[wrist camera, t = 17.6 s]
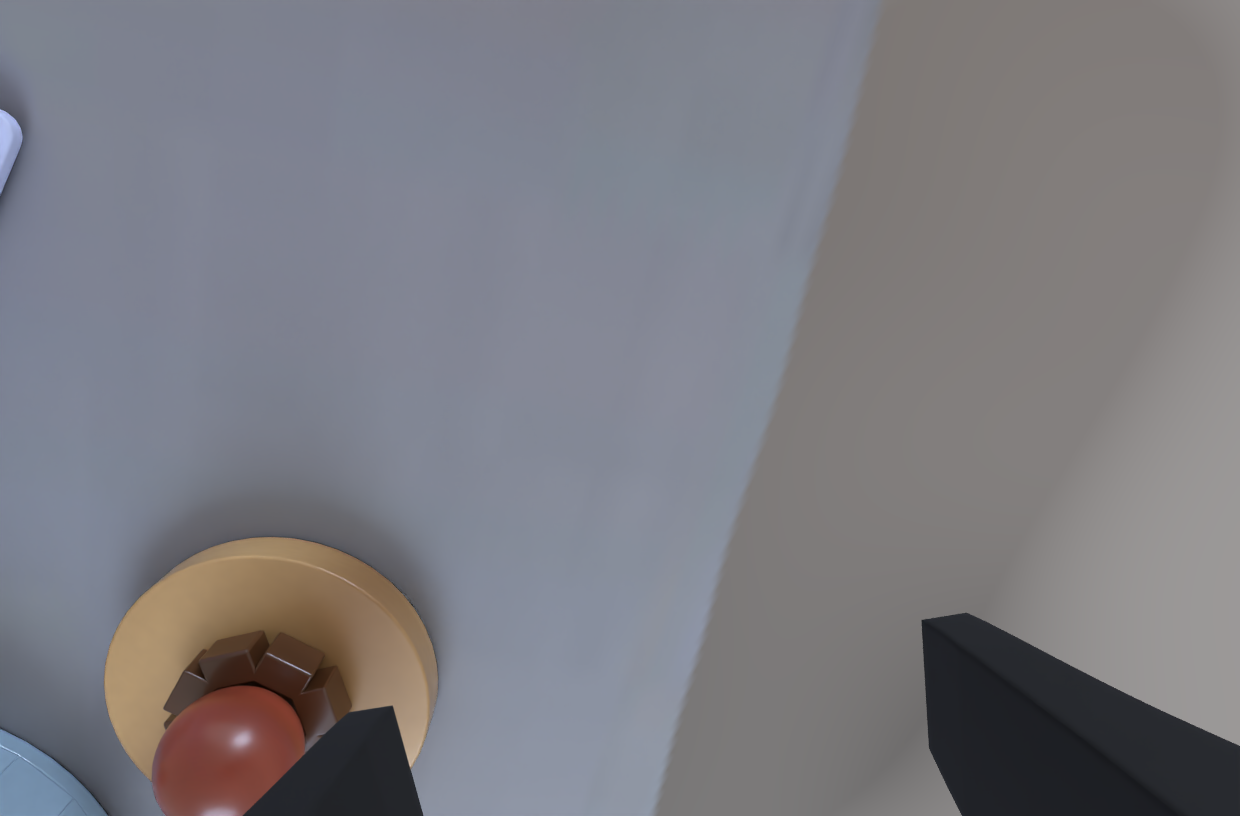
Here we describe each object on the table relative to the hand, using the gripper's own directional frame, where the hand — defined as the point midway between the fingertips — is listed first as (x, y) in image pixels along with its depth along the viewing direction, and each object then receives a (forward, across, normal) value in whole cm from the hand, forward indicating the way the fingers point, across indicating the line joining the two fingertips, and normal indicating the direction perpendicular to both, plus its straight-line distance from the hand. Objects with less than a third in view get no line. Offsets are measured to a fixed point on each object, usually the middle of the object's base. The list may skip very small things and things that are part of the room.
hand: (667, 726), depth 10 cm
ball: (+7, +10, +4) cm, 13 cm away
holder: (+10, +10, +4) cm, 15 cm away
